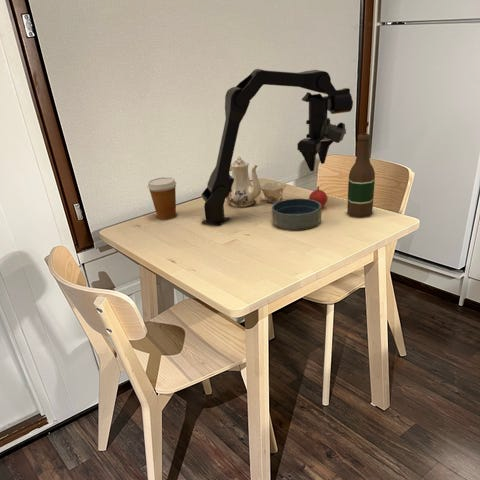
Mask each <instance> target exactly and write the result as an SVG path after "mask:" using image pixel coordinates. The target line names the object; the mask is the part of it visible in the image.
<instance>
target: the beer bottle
mask: <svg viewBox="0 0 480 480" xmlns="http://www.w3.org/2000/svg"><path fill="white" fill-rule="evenodd" d="M371 138H372V137H371V134H370V133H365V132H364V133H360V134H358V135H357V148H356V149H357V150H356V156H355V162H354V164H353V165H352V166H351V168H350V171H349V173H348V183H347V204H346V205H347V207H346V208H347V209H346V210H347V211H346V212H347V214H348V215H349V216H350V217H353V218H367V217H369V216H370V215H372V213H373V207H374V198H375V197H374V195H375V194H374V193H375V181H376V172H375V169H374V167H373V165H372V163H371V158H370V145H371V144H370V140H371Z"/></svg>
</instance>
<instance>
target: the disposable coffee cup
mask: <svg viewBox="0 0 480 480" xmlns="http://www.w3.org/2000/svg"><path fill="white" fill-rule="evenodd" d="M176 187H177V182H176V180H175V178H173V177H168V176H167V177H166V176H165V177H163V176H162V177H157V178H156V177H155V178H153V179H150V180H148V182H147V188H148V190H149V193H150V196H151V200H152V203H153V206H154V210H155V213H156V216H157V219H159V220H170V219H173V218H175V217H176V216H177V202H176V201H177V200H176V198H177V197H176Z"/></svg>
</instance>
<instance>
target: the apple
mask: <svg viewBox="0 0 480 480" xmlns="http://www.w3.org/2000/svg"><path fill="white" fill-rule="evenodd" d="M308 199H311V200H315V201H317V202H319V203H320V204H321V205H322V206H321V210H322V209H323V208H324V207H325V206H326V205H327V202H328V195H327V194H326V192H325V191H324V190H322V189H320V186H317V187H316V189H315V190H313V191H311V193H310V194H309V196H308Z"/></svg>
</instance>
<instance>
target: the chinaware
mask: <svg viewBox="0 0 480 480" xmlns="http://www.w3.org/2000/svg"><path fill="white" fill-rule="evenodd" d="M249 165H250V162H247V161H245V160H244V159H242V157H241V156H240V155H238V156H237V157H236V159H235V160H234V161H233V163H232V162H231V166H230V171H229V172H231V173H232V174H231V177H232V178H233V179H234V182H233V185H232V192H230V193H229V195H228V197H226V198H225V199H226V200H227V201H228V202H229V203H230V205H231V207H234V208H235V207H236V208H245V207H250V206H253V205H254V204H255V200H256V199H257V198H258V197H259V196H260V195H261V190H262V194H263V196H264V197H265V199H267V200H268V203H273V204H275V203H277V202H279V201H283V193H284V190H285V188H286V184H283V183H281V182H278V181H277V182H273V183H271V182H266V183H264V184H263V185H261V183H260V180H259V177H258V175H257V168H258V165H257V164H255V165H253V167H252V168H251V179H252V183H251V179H250V176H249Z"/></svg>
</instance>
